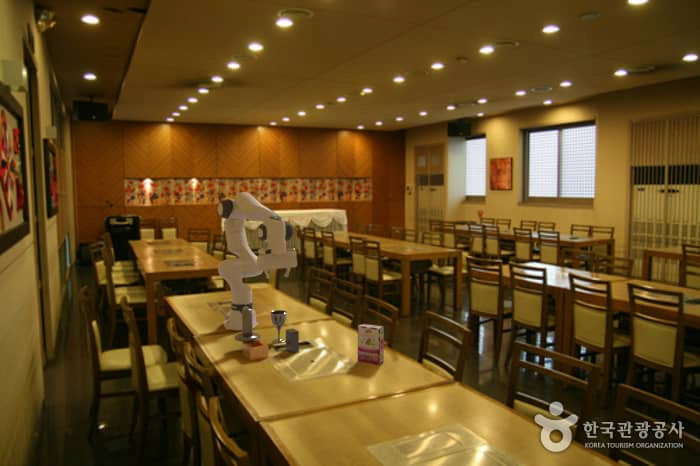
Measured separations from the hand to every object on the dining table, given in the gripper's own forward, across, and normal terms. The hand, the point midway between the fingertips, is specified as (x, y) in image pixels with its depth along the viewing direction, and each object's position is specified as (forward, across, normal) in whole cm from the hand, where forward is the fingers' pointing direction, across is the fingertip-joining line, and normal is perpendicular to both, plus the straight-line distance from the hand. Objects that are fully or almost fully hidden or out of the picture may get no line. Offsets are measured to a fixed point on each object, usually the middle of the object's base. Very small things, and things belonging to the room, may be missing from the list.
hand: (277, 277), depth 261 cm
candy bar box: (+36, -27, +41) cm, 61 cm away
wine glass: (+34, -4, -9) cm, 36 cm away
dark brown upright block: (+35, -3, +9) cm, 36 cm away
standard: (+34, +15, +1) cm, 37 cm away
